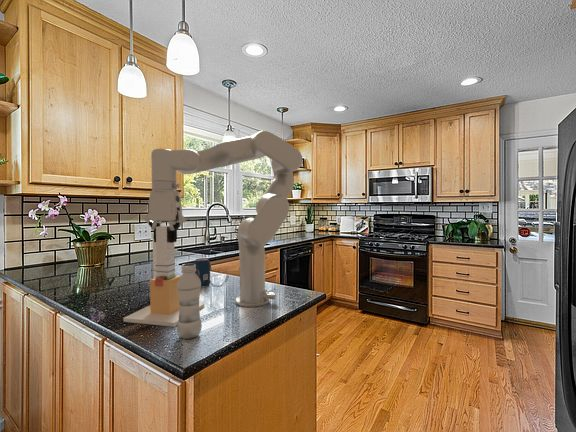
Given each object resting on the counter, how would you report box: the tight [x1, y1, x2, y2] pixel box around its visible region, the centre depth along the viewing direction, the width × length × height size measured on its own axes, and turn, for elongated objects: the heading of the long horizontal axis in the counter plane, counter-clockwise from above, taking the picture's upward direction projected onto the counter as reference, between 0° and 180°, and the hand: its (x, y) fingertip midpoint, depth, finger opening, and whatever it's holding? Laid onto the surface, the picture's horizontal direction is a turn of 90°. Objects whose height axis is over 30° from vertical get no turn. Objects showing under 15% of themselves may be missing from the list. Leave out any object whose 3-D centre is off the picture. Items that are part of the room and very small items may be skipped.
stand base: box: [122, 275, 205, 328], centre depth 100 cm, size 18×18×13 cm
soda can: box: [193, 257, 211, 288], centre depth 136 cm, size 7×7×12 cm
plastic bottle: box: [176, 263, 203, 340], centre depth 83 cm, size 6×7×20 cm
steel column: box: [156, 225, 177, 280], centre depth 100 cm, size 4×4×22 cm
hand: (165, 241), depth 100 cm, fingers open, 5 cm apart
